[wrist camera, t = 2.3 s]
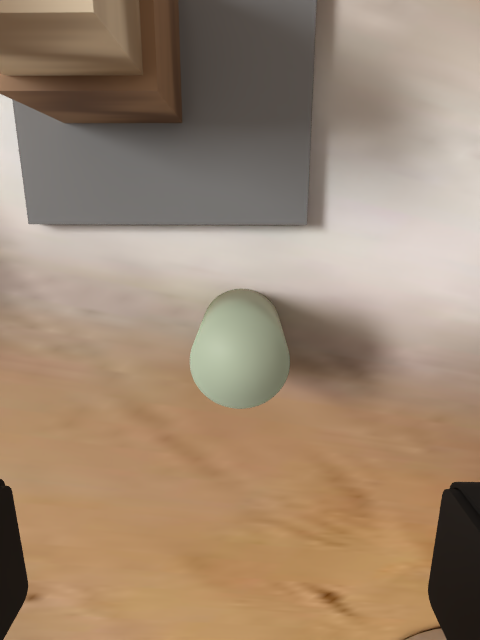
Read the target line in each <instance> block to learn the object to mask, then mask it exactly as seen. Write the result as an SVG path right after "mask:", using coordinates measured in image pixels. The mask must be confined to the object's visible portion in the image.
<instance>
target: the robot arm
mask: <svg viewBox="0 0 480 640" xmlns="http://www.w3.org/2000/svg"><path fill="white" fill-rule="evenodd" d="M27 591H28V580H27V574H26V568H25V563H24V557H23V551H22V545H21V540H20V534H19V528H18V523H17V517H16V511H15V506H14V500H13V494H12V490H11V488H10V487H9V486H5V483H4V481H3V480H2V479H0V640H3V639H4V637H5V635H6V634H7V632H8V630H9V628H10V626H11V625H12V623H13V621H14V619H15V617H16V616H17V614H18V612H19V610H20V609H21V607H22V605H23V603H24V601H25V598H26V595H27ZM428 595H429V600H430V603H431V606H432V609H433V611H434V613H435V615H436V618H437V620H438V622H439V624H440V626H441V629H434V630H430V631H426V632H423V633H419V634H417V635H414V636H412V637H410V638H407V639H405V640H480V482H454V483H452V484H451V486H450V489H446V490H444V491H443V494H442V500H441V506H440V513H439V519H438V526H437V533H436V539H435V546H434V552H433V559H432V565H431V572H430V578H429V585H428Z"/></svg>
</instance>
